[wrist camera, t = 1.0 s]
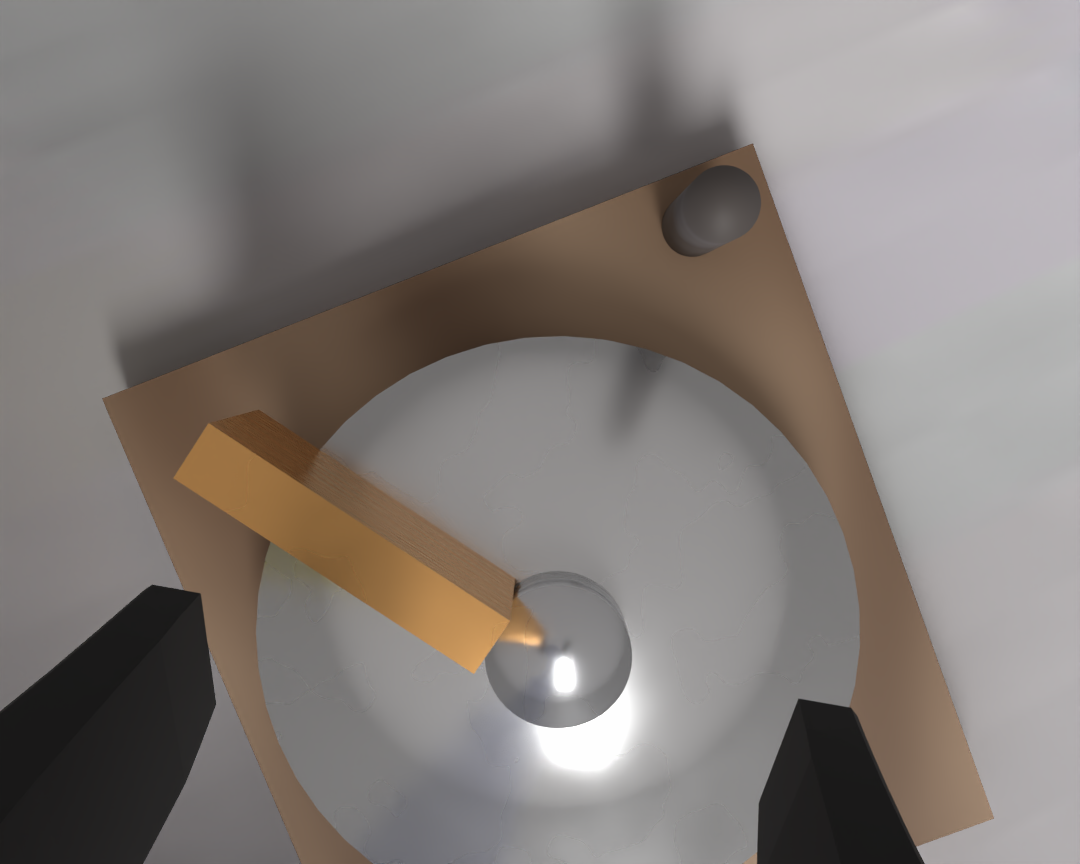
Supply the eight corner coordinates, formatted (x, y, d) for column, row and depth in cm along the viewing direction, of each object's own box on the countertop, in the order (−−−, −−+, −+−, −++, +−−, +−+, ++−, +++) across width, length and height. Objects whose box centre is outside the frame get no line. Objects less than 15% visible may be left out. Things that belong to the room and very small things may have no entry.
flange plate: (396, 976, 24) (365, 1116, 19) (171, 445, 22) (85, 470, 18) (925, 785, 23) (1009, 885, 19) (722, 230, 22) (765, 206, 18)
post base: (386, 1000, 26) (345, 1175, 21) (128, 395, 25) (11, 412, 19) (967, 790, 26) (1082, 913, 20) (740, 155, 24) (796, 103, 19)
